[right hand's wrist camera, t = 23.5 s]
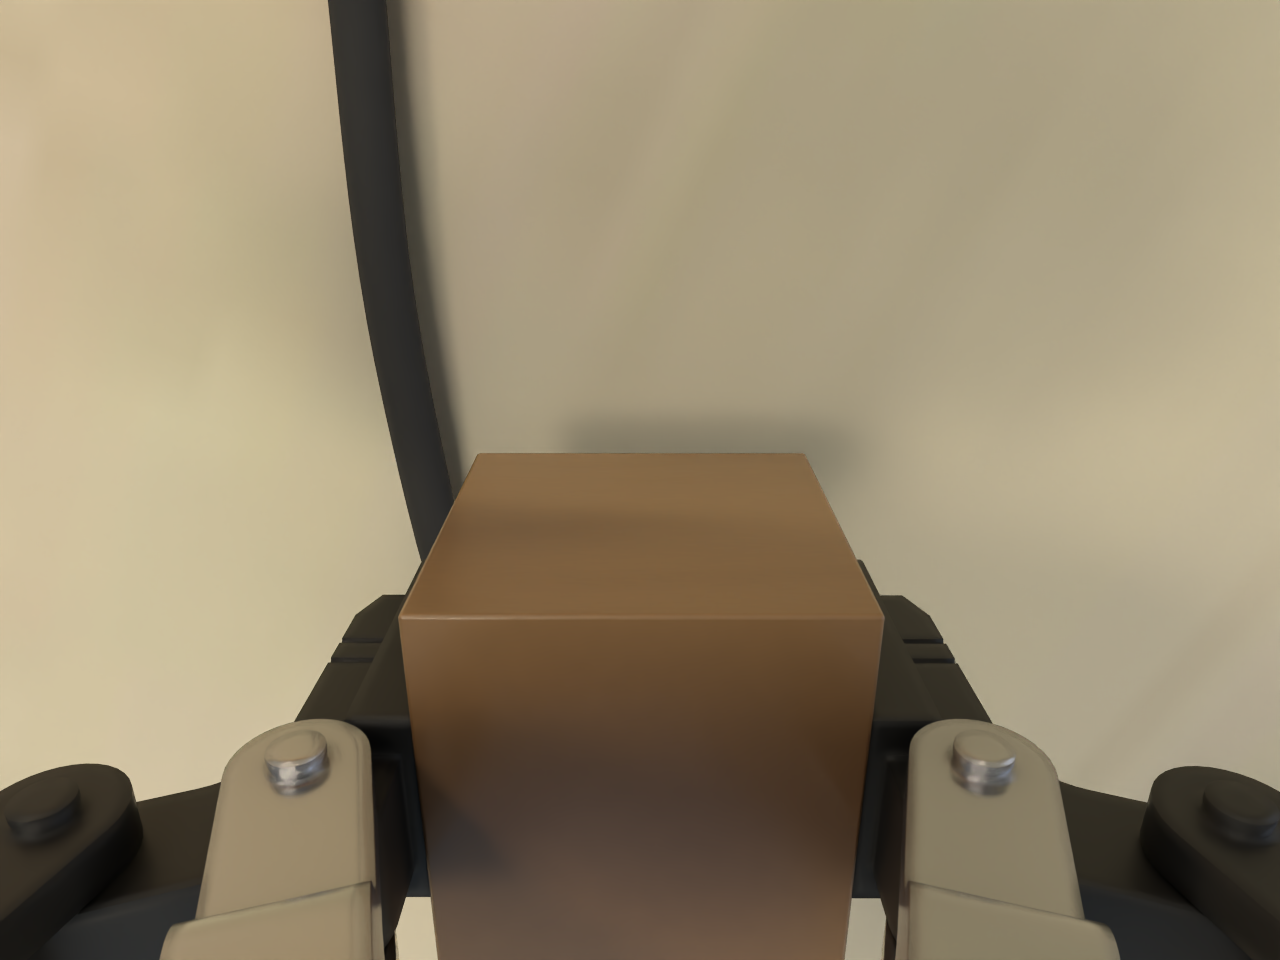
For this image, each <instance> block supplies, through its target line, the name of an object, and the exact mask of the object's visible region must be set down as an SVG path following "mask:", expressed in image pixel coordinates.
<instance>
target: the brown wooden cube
mask: <svg viewBox="0 0 1280 960" xmlns="http://www.w3.org/2000/svg"><path fill="white" fill-rule="evenodd" d="M884 619H885V617H884V614H883V612H882V610H881V608H880V606H879V604H878V602H877V600H876V598H875V596H874V594H873V592H872V590H871V588H870V586H869V584H868V582H867V580H866V578H865V576H864V574H863V572H862V570H861V568H860V566H859V563H858V561H857V559H856V557H855V555H854V553H853V551H852V549H851V547H850V545H849V543H848V541H847V539H846V537H845V535H844V533H843V531H842V529H841V527H840V525H839V523H838V521H837V519H836V517H835V515H834V513H833V511H832V509H831V506H830V504H829V502H828V500H827V498H826V496H825V494H824V492H823V490H822V488H821V486H820V484H819V482H818V480H817V478H816V476H815V474H814V472H813V470H812V468H811V466H810V464H809V462H808V460H807V458H806V456H805V454H802V453H480V454H478V455H477V457H476V459H475V461H474V463H473V465H472V467H471V469H470V471H469V473H468V475H467V477H466V479H465V481H464V483H463V485H462V487H461V489H460V491H459V493H458V495H457V498H456V500H455V502H454V504H453V506H452V508H451V510H450V512H449V514H448V516H447V518H446V520H445V522H444V524H443V526H442V528H441V530H440V532H439V534H438V536H437V538H436V540H435V542H434V544H433V546H432V548H431V550H430V553H429V555H428V557H427V559H426V561H425V563H424V565H423V567H422V569H421V571H420V573H419V575H418V577H417V579H416V581H415V583H414V585H413V587H412V589H411V591H410V593H409V595H408V597H407V599H406V601H405V603H404V606H403V608H402V610H401V612H400V614H399V616H398V621H399V629H400V638H401V646H402V655H403V664H404V672H405V681H406V689H407V698H408V707H409V715H410V723H411V732H412V740H413V749H414V757H415V766H416V775H417V783H418V792H419V800H420V809H421V818H422V826H423V835H424V843H425V852H426V861H427V869H428V878H429V886H430V895H431V904H432V913H433V921H434V930H435V939H436V947H437V956H438V960H844V959H845V951H846V942H847V934H848V925H849V917H850V908H851V900H852V889H853V881H854V872H855V864H856V855H857V847H858V838H859V830H860V821H861V813H862V804H863V796H864V787H865V779H866V770H867V762H868V754H869V745H870V737H871V728H872V720H873V713H874V704H875V696H876V687H877V679H878V670H879V662H880V653H881V645H882V636H883V628H884Z"/></svg>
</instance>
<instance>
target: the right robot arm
mask: <svg viewBox="0 0 1280 960" xmlns="http://www.w3.org/2000/svg"><path fill="white" fill-rule="evenodd" d="M328 5H329V15H330V24H331V35H332V45H333V55H334V65H335V75H336V85H337V95H338V105H339V115H340V124H341V133H342V143H343V152H344V161H345V170H346V179H347V188H348V196H349V204H350V212H351V220H352V227H353V235H354V242H355V249H356V256H357V263H358V270H359V277H360V283H361V289H362V295H363V301H364V307H365V313H366V319H367V324H368V330H369V335H370V340H371V346H372V351H373V356H374V362H375V366H376V371H377V376H378V381H379V385H380V390H381V395H382V400H383V404H384V409H385V413H386V418H387V422H388V427H389V431H390V436H391V440H392V445H393V449H394V453H395V458H396V462H397V466H398V471H399V475H400V479H401V483H402V488H403V492H404V496H405V500H406V504H407V508H408V512H409V516H410V520H411V524H412V528H413V532H414V536H415V539H416V543H417V547H418V551H419V554H420V558H421V561H422V562H421V564H420V566H419V568H418V570H417V572H416V574H415V576H414V578H413V580H412V582H411V585H410V587H409V589H408V591H407V593H406V595H382V596H381V597H379V598H378V599H377V600H375V601H374V602H373V603H371V604H370V605H369V606H367V607H366V608H364V609H363V610H362V611H360V612H359V613H358V614H356V615H355V617H354V619H353V621H352V622H351V624H350V626H349V627H348V629H347V631H346V633H345V634H344V636H343V638H342V643H339V645H338V647H337V648H336V650H335V652H334V654H333V655H332V657H331V663H328V664H327V666H326V667H325V669H324V671H323V673H322V674H321V676H320V678H319V680H318V681H317V683H316V685H315V687H314V688H313V690H312V692H311V693H310V695H309V697H308V699H307V700H306V702H305V704H304V706H303V707H302V709H301V711H300V713H299V714H298V716H297V718H296V720H295V721H294V722H292V723H288V724H285V725H282V726H279V727H276V728H274V729H271V730H269V731H267V732H264V733H263V734H261V735H259V736H257V737H255V738H254V739H252V740H251V741H249V742H248V743H246V744H245V745H244V746H243V747H242V748H240V749H239V750H238V751H237V752H236V753H235V754H234V755H233V757H232V758H231V759H230V760H229V762H228V764H227V765H226V767H225V769H224V772H223V776H222V780H221V782H220V783H217V784H214V785H211V786H207V787H203V788H199V789H195V790H190V791H186V792H181V793H176V794H172V795H167V796H163V797H158V798H153V799H149V800H144V801H139V802H136V799H135V796H134V792H133V788H132V785H131V782H130V779H129V778H128V777H127V775H126V774H125V773H124V772H122V771H120V770H119V769H117V768H114V767H111V766H108V765H102V764H77V765H69V766H64V767H59V768H55V769H51V770H48V771H44V772H41V773H38V774H36V775H33V776H30V777H28V778H26V779H23V780H21V781H19V782H17V783H15V784H13V785H11V786H9V787H7V788H5V789H3V790H2V791H0V960H399V954H398V944H397V937H396V927H397V925H398V921H399V918H400V915H401V911H402V908H403V905H404V901H405V898H406V897H431V895H430V886H429V878H428V869H427V861H426V852H425V843H424V835H423V826H422V818H421V809H420V800H419V792H418V783H417V775H416V766H415V757H414V749H413V740H412V732H411V723H410V715H409V707H408V698H407V689H406V681H405V672H404V664H403V655H402V646H401V638H400V629H399V621H398V616H399V614H400V612H401V610H402V608H403V606H404V603H405V601H406V599H407V597H408V595H409V593H410V591H411V589H412V587H413V585H414V583H415V581H416V579H417V577H418V575H419V573H420V571H421V569H422V567H423V565H424V563H425V561H426V559H427V557H428V555H429V553H430V550H431V548H432V546H433V544H434V542H435V540H436V538H437V536H438V534H439V532H440V530H441V528H442V526H443V524H444V522H445V520H446V518H447V516H448V514H449V512H450V510H451V508H452V506H453V504H454V499H453V494H452V490H451V485H450V481H449V476H448V471H447V467H446V462H445V457H444V453H443V448H442V443H441V438H440V434H439V429H438V424H437V419H436V414H435V409H434V404H433V399H432V394H431V389H430V383H429V378H428V373H427V367H426V362H425V357H424V351H423V345H422V339H421V333H420V327H419V321H418V315H417V309H416V302H415V295H414V288H413V281H412V274H411V267H410V259H409V251H408V243H407V235H406V225H405V216H404V207H403V197H402V187H401V176H400V166H399V155H398V143H397V131H396V120H395V107H394V95H393V82H392V69H391V57H390V44H389V31H388V19H387V6H386V0H328ZM857 561H858V563H859V566H860V568H861V570H862V572H863V574H864V576H865V578H866V580H867V582H868V584H869V586H870V588H871V590H872V592H873V594H874V596H875V598H876V600H877V602H878V604H879V606H880V608H881V610H882V612H883V614H884V617H885V619H884V628H883V636H882V645H881V653H880V662H879V670H878V679H877V687H876V696H875V704H874V713H873V720H872V728H871V737H870V745H869V754H868V762H867V770H866V779H865V787H864V796H863V804H862V813H861V821H860V830H859V838H858V847H857V855H856V864H855V872H854V881H853V889H852V898H881V902H882V905H883V908H884V911H885V914H886V923H885V930H884V937H883V945H882V955H881V960H1280V792H1279V791H1277V790H1275V789H1273V788H1272V787H1270V786H1268V785H1266V784H1263V783H1261V782H1259V781H1257V780H1254V779H1252V778H1249V777H1246V776H1243V775H1241V774H1238V773H1234V772H1230V771H1227V770H1222V769H1217V768H1211V767H1201V766H1185V767H1179V768H1174V769H1171V770H1168V771H1165V772H1164V773H1162V774H1161V775H1159V776H1158V777H1157V778H1156V779H1155V781H1154V783H1153V785H1152V788H1151V792H1150V795H1149V799H1148V803H1146V802H1142V801H1137V800H1132V799H1128V798H1123V797H1118V796H1114V795H1109V794H1105V793H1100V792H1095V791H1091V790H1087V789H1083V788H1079V787H1075V786H1072V785H1070V784H1067V783H1064V782H1061V781H1059V780H1058V775H1057V772H1056V769H1055V767H1054V765H1053V764H1052V762H1051V760H1050V759H1049V758H1048V757H1047V755H1046V754H1045V753H1044V752H1043V751H1042V750H1041V749H1040V748H1039V747H1037V746H1036V745H1035V744H1034V743H1032V742H1031V741H1029V740H1028V739H1026V738H1025V737H1023V736H1021V735H1019V734H1017V733H1016V732H1013V731H1011V730H1009V729H1006V728H1004V727H1001V726H998V725H995V724H993V723H992V722H991V720H990V718H989V716H988V715H987V713H986V711H985V710H984V708H983V706H982V705H981V703H980V701H979V699H978V698H977V696H976V694H975V693H974V691H973V689H972V687H971V686H970V684H969V682H968V681H967V679H966V677H965V675H964V674H963V672H962V670H961V669H960V667H959V665H958V664H955V658H954V657H953V655H952V653H951V651H950V650H949V648H948V646H947V645H946V644H943V638H942V636H941V634H940V633H939V631H938V629H937V628H936V626H935V624H934V622H933V621H932V619H931V617H930V616H929V615H928V614H927V613H925V612H924V611H923V610H921V609H920V608H918V607H917V606H916V605H914V604H913V603H912V602H910V601H909V600H908V599H906V598H905V597H903V596H880V595H879V593H878V591H877V589H876V587H875V585H874V583H873V581H872V579H871V577H870V575H869V573H868V571H867V569H866V567H865V565H864V563H863V561H861V560H857Z"/></svg>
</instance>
